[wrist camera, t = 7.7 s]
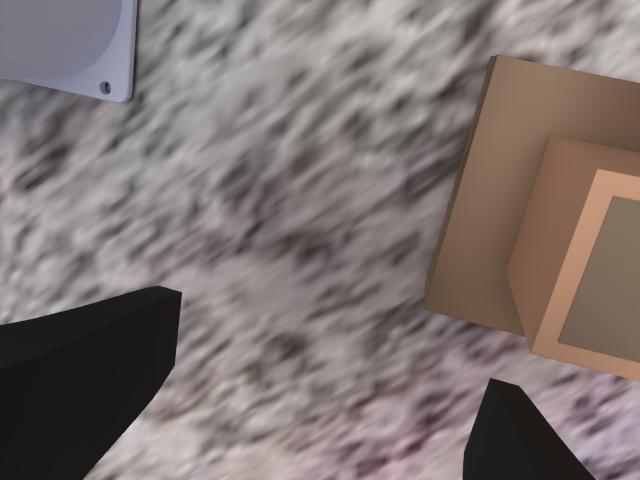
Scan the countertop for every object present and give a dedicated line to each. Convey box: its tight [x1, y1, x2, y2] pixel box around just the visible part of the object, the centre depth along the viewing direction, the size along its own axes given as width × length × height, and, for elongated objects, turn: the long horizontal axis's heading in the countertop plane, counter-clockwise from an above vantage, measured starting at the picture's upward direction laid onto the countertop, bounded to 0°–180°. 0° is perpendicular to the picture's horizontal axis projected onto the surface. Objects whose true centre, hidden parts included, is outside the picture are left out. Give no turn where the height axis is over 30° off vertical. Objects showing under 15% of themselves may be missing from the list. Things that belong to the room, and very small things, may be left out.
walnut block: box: [424, 55, 640, 337], centre depth 19 cm, size 9×9×3 cm
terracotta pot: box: [506, 135, 640, 381], centre depth 15 cm, size 5×5×6 cm
